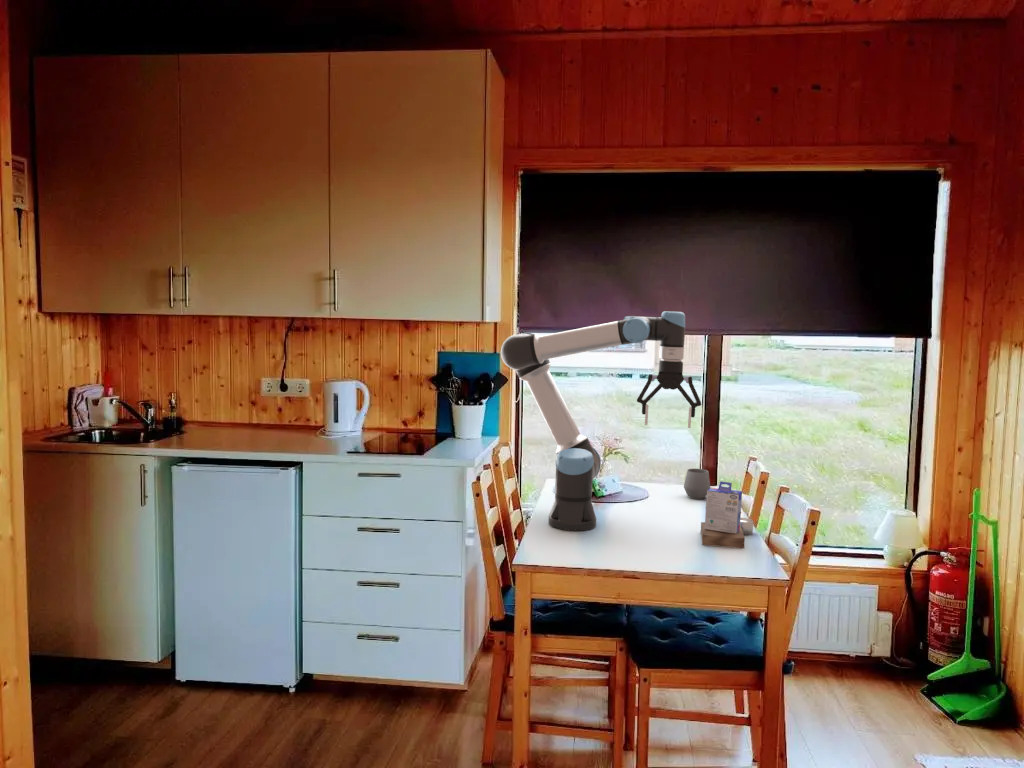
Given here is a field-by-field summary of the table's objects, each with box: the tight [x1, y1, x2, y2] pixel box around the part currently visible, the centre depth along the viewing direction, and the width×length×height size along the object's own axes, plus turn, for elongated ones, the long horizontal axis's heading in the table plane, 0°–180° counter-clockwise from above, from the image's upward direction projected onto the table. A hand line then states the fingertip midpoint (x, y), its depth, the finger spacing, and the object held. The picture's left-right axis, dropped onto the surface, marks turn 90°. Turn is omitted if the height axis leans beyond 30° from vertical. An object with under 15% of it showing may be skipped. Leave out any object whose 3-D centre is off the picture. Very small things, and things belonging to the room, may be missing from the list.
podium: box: [700, 521, 746, 549], centre depth 243 cm, size 12×14×3 cm
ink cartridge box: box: [704, 481, 743, 534], centre depth 242 cm, size 10×6×14 cm, turn 65°
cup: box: [683, 468, 711, 500], centre depth 295 cm, size 10×9×10 cm
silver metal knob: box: [740, 517, 754, 536], centre depth 252 cm, size 6×6×4 cm
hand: (667, 426), depth 258 cm, fingers open, 13 cm apart
